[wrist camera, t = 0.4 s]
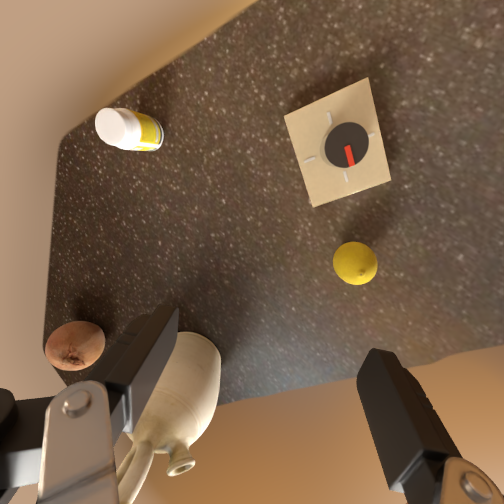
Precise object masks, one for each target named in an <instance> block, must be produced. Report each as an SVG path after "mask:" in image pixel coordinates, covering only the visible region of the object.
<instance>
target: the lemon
mask: <svg viewBox="0 0 504 504" xmlns="http://www.w3.org/2000/svg"><path fill="white" fill-rule="evenodd" d="M333 266H334V269H335V271H336V273H337V274H338V276H339V277H340V278H341V279H343V280H344V281H345V282H348V283H350V284H355V285H360V284H364V283H366V282H368V281H370V280H371V279H372V278H373V277H374V276H375V274H376V271H377V259H376V256H375V254H374V252H373V251H372V250H371V249H370V248H369V247H368V246H366V245H365V244H363V243H359V242H348V243H345V244H343V245H341V246H340V247H339V248H338V249H337V250H336V252H335V254H334V258H333Z"/></svg>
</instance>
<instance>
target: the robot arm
mask: <svg viewBox="0 0 504 504" xmlns="http://www.w3.org/2000/svg"><path fill="white" fill-rule="evenodd" d="M178 320H179V308H178V307H174V306H169V305H164V304H159V305H158V306H157V308H156V309H155V311H154V312H153V313H152V315H147V314H142V315H141V316H139V317H138V318H136V319H134V320H133V321H131V323H130V324H129V325H128V326H127V328H126V329H125V330H124V331H123V334H121V335H120V336H119V338H118V339H117V340H116V342H114V344H113V345H112V346H111V347H110V349H109V350H108V351H107V352H106V354H105V355H104V356H103V357H102V359H101V360H100V361H99V362H98V364H97V365H96V366H95V367H94V369H93V370H92V371H91V372H90V374H89V375H88V376H87V377H86V378H85V379H84V380H83V381H82V382H78V383H75V384H72V385H70V386H68V387H67V388H65V389H64V390H62V391H61V392H60V393H58V394H57V395H56V396H52V397H44V398H35V399H26V400H17V401H15V399H14V396H13V394H12V393H11V392H10V391H9V390H7V389H3V388H0V504H8V503H9V501H10V500H11V499H12V497H13V496H14V494H15V493H16V491H17V490H18V488H19V487H20V486H24V485H29V484H34V483H39V490H38V498H37V502H36V504H120V502H119V493H118V483H117V474H116V466H115V457H114V448H113V447H114V445H115V443H116V441H117V440H118V438H119V436H120V434H121V432H125V433H130V434H132V433H133V431H134V429H135V427H136V425H137V423H138V421H139V419H140V417H141V415H142V412H143V410H144V408H145V406H146V404H147V402H148V400H149V398H150V396H151V394H152V392H153V390H154V388H155V386H156V384H157V382H158V380H159V378H160V376H161V374H162V372H163V370H164V368H165V366H166V364H167V362H168V360H169V358H170V356H171V354H172V352H173V350H174V347H175V344H176V341H177V335H178ZM357 390H358V393H359V396H360V399H361V403H362V405H363V409H364V412H365V415H366V418H367V421H368V424H369V427H370V431H371V434H372V437H373V440H374V443H375V446H376V450H377V453H378V456H379V459H380V462H381V465H382V468H383V471H384V475H385V478H386V481H387V484H388V487H389V490H392V491H397V492H401V493H404V494H405V497H406V499H407V503H406V504H504V495H502V494H501V492H500V490H499V489H498V487H497V486H496V485H495V484H494V482H493V481H492V480H491V479H490V478H489V477H488V476H487V475H486V474H485V473H484V472H483V471H482V470H481V469H479V468H478V467H477V466H475V465H474V464H472V463H471V462H469V461H467V460H465V459H463V457H462V456H461V454H460V453H459V451H458V449H457V447H456V446H455V444H454V442H453V440H452V439H451V437H450V435H449V434H448V432H447V430H446V429H445V427H444V425H443V423H442V422H441V420H440V418H439V416H438V415H437V413H436V411H435V410H433V406H432V404H431V403H430V401H429V399H428V398H426V394H425V392H424V391H423V389H422V387H421V385H420V384H419V382H418V381H417V380H416V379H415V377H414V376H413V375H412V374H411V373H410V372H409V371H408V370H407V369H406V368H403V367H402V366H401V364H400V362H399V360H398V358H397V356H396V355H395V354H394V353H393V352H390V351H385V350H380V349H375V348H372V349H371V350H370V351H369V353H368V355H367V357H366V359H365V361H364V363H363V365H362V367H361V368H360V370H359V372H358V375H357Z"/></svg>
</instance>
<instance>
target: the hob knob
mask: <svg viewBox="0 0 504 504" xmlns="http://www.w3.org/2000/svg"><path fill="white" fill-rule="evenodd" d="M368 147H369V137H368V134H367V132H366V130H365V129H364V128H363V127H362V126H361V125H359V124H357V123H354V122H345V123H342V124H339V125H337V126H336V127H335V128H333V129H332V130H331V131H330V132H329V133H328V134H327V135H326V136H325V137H324V138H323V140H322V142H321V145H320V156H321V158H322V160H323V161H324V162H325V163H326V164H327V165H329V166H332V167H338V168H348V167H352V166H354V165H356V164H358V163H359V162H360V161H361V160H362V159H363V158H364V156H365V155H366V153H367V150H368Z"/></svg>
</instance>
